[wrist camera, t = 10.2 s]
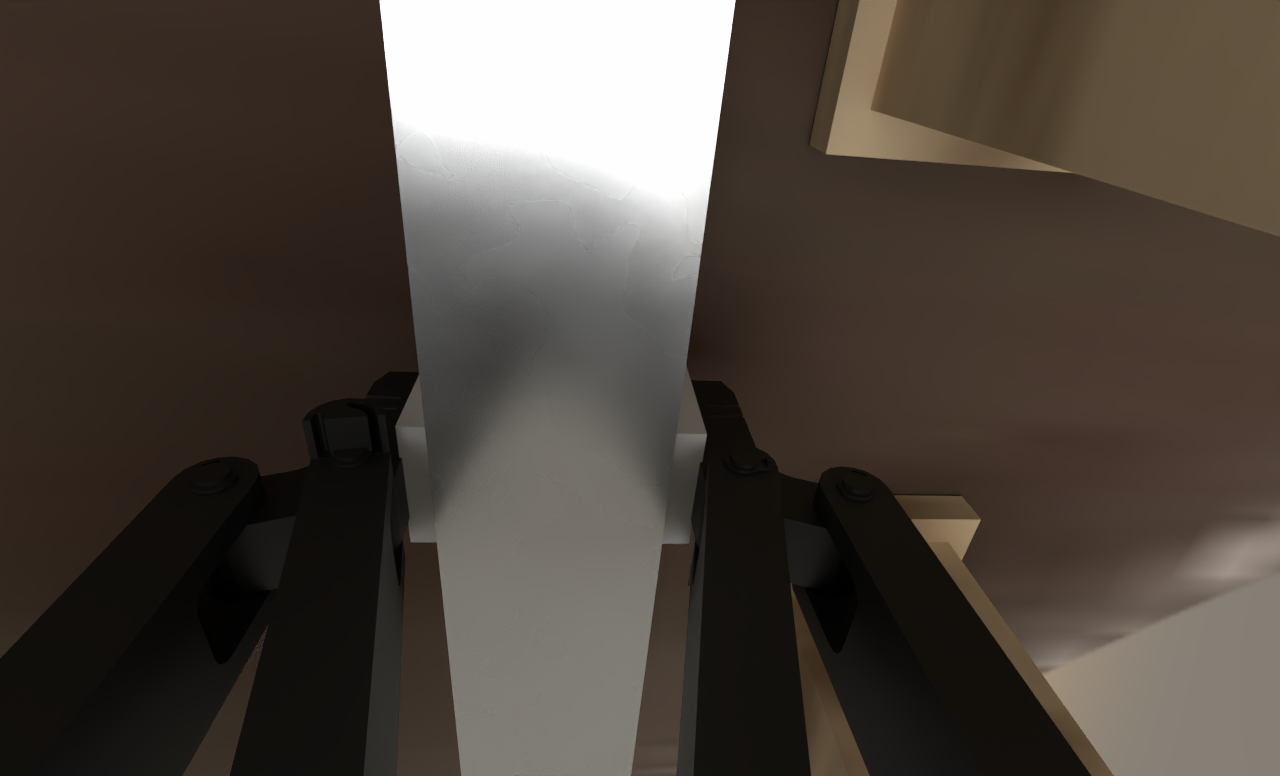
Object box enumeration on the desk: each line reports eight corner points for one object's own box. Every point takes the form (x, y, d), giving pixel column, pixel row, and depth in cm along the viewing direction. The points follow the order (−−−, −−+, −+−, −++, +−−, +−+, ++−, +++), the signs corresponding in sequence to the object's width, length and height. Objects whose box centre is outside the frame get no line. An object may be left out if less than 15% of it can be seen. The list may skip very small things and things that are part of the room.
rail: (494, 709, 22) (472, 881, 17) (433, -441, 9) (285, -895, 4) (611, 706, 22) (617, 873, 18) (718, -392, 9) (838, -766, 5)
